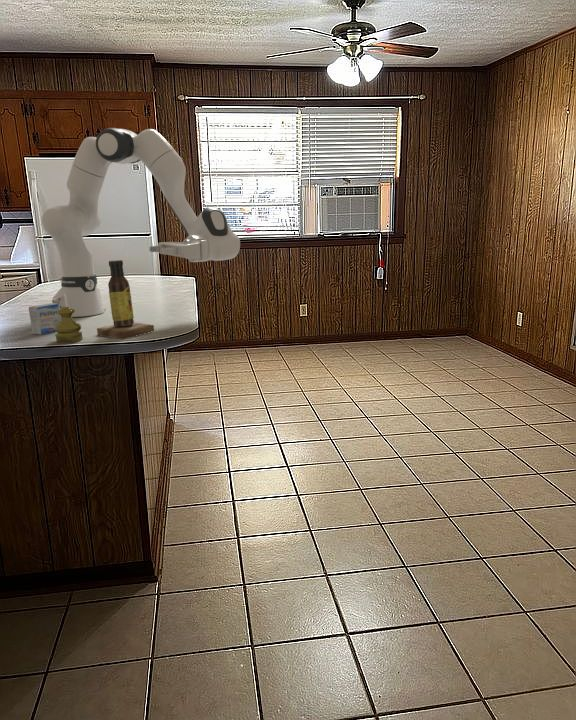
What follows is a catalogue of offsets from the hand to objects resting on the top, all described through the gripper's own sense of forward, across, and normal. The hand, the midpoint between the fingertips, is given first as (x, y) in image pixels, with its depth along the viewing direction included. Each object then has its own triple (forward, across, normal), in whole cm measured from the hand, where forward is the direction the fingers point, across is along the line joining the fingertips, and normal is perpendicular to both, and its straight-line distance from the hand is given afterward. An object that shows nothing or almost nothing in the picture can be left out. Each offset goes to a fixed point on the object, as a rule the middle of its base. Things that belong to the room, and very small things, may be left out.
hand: (155, 250), depth 180 cm
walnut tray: (+14, +7, +24) cm, 28 cm away
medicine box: (+32, -13, +25) cm, 43 cm away
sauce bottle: (+14, +5, +22) cm, 27 cm away
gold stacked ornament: (+30, +5, +25) cm, 39 cm away
